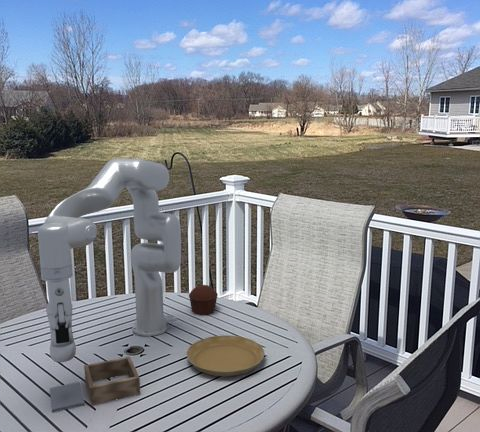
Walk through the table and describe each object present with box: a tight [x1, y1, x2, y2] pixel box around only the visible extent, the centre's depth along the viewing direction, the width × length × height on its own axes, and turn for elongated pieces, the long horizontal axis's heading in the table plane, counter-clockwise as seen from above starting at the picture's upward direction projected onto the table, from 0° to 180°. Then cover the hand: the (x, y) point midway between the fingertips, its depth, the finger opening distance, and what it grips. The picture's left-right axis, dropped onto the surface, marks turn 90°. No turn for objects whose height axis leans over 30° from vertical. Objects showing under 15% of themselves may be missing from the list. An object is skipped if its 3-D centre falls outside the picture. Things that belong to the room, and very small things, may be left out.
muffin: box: [188, 284, 219, 316], centre depth 188 cm, size 12×11×10 cm
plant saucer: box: [186, 334, 265, 378], centre depth 150 cm, size 24×24×3 cm
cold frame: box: [83, 356, 141, 406], centre depth 134 cm, size 13×13×5 cm
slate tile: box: [49, 381, 85, 413], centre depth 130 cm, size 8×11×1 cm
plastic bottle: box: [45, 291, 77, 363], centre depth 126 cm, size 6×7×20 cm
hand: (61, 336), depth 126 cm, fingers closed on plastic bottle, 5 cm apart
